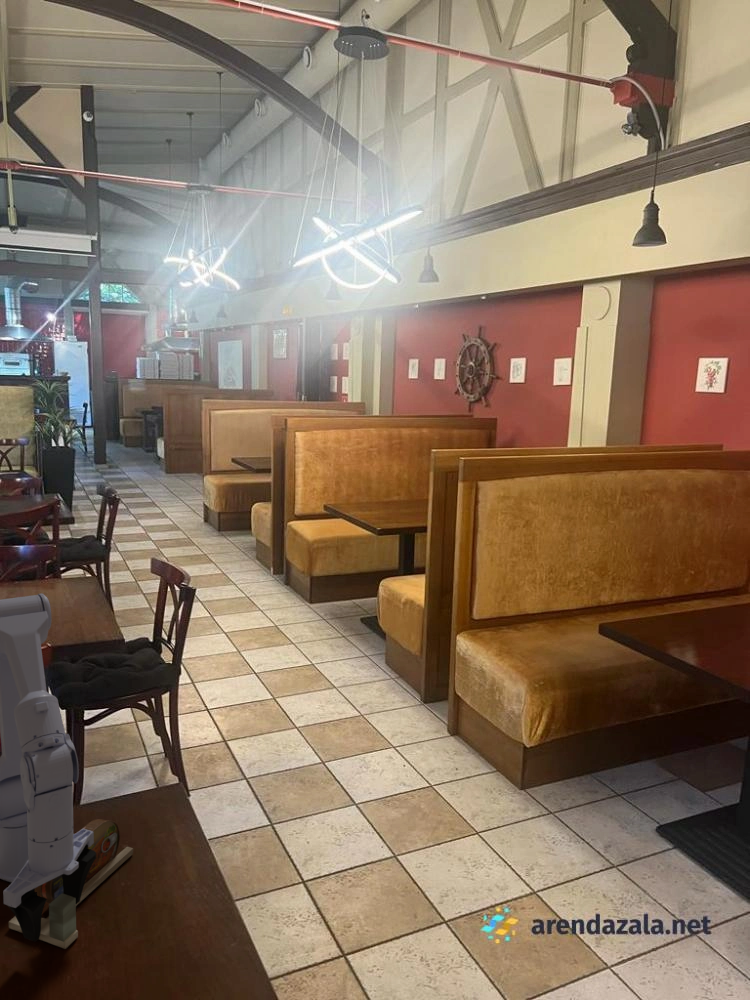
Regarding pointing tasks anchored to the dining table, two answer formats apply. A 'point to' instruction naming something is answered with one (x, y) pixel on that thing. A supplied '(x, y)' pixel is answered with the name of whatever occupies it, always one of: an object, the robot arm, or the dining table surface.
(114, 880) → the dining table surface
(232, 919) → the dining table surface
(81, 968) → the dining table surface
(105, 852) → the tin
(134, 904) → the dining table surface
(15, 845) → the robot arm
